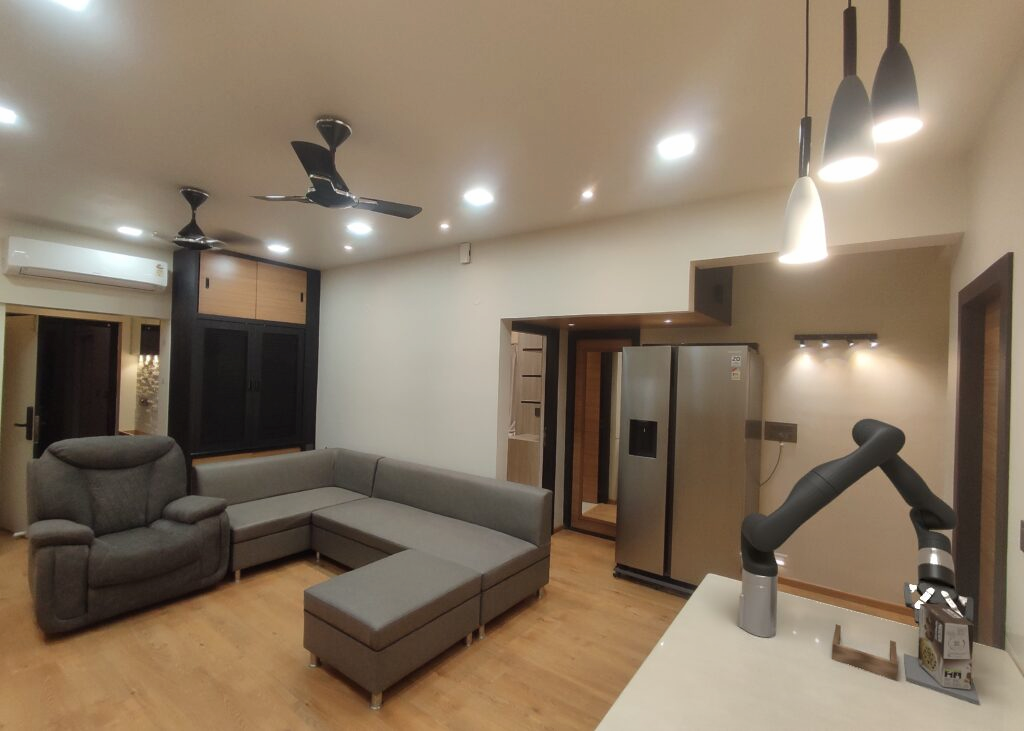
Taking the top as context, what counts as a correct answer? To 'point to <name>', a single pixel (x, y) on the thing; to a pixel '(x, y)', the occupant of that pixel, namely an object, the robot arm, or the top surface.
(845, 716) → the top surface
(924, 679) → the charcoal mat
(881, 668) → the walnut holder
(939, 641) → the coffee box
